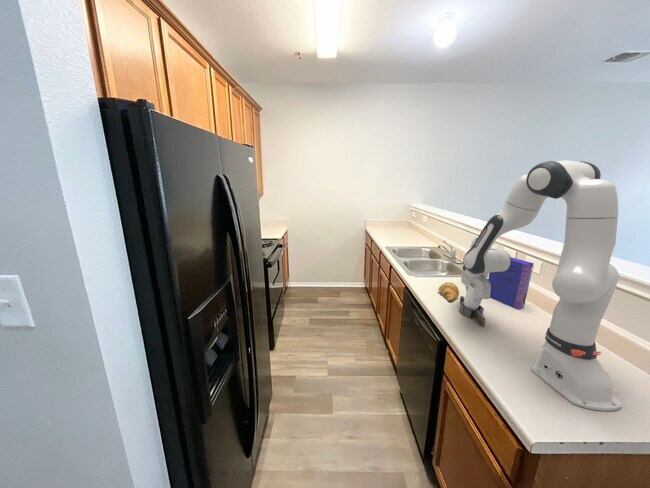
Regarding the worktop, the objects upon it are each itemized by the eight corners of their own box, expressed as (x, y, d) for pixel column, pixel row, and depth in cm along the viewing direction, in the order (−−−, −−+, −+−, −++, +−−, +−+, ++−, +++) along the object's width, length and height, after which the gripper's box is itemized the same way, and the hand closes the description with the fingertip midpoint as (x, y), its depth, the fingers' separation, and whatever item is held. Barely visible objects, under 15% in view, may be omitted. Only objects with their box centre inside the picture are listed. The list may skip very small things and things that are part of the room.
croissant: (455, 309, 141) (465, 298, 138) (438, 298, 142) (448, 287, 139) (450, 292, 161) (458, 282, 158) (435, 283, 162) (443, 273, 159)
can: (463, 307, 129) (469, 287, 123) (463, 299, 134) (469, 279, 128) (478, 311, 126) (485, 291, 121) (478, 303, 131) (484, 283, 126)
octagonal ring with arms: (493, 327, 119) (495, 319, 118) (471, 326, 119) (473, 318, 118) (475, 309, 134) (477, 302, 133) (456, 308, 135) (457, 301, 134)
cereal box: (523, 308, 137) (533, 262, 131) (517, 309, 135) (527, 264, 129) (491, 294, 152) (498, 253, 146) (485, 295, 150) (492, 254, 144)
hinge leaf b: (485, 319, 125) (487, 311, 124) (464, 318, 126) (466, 310, 125) (469, 303, 140) (471, 296, 139) (451, 302, 141) (452, 295, 140)
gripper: (497, 280, 114) (491, 310, 118) (473, 264, 134) (469, 290, 137) (481, 279, 114) (476, 309, 118) (460, 264, 134) (456, 290, 138)
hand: (472, 299), depth 128 cm, fingers open, 7 cm apart
